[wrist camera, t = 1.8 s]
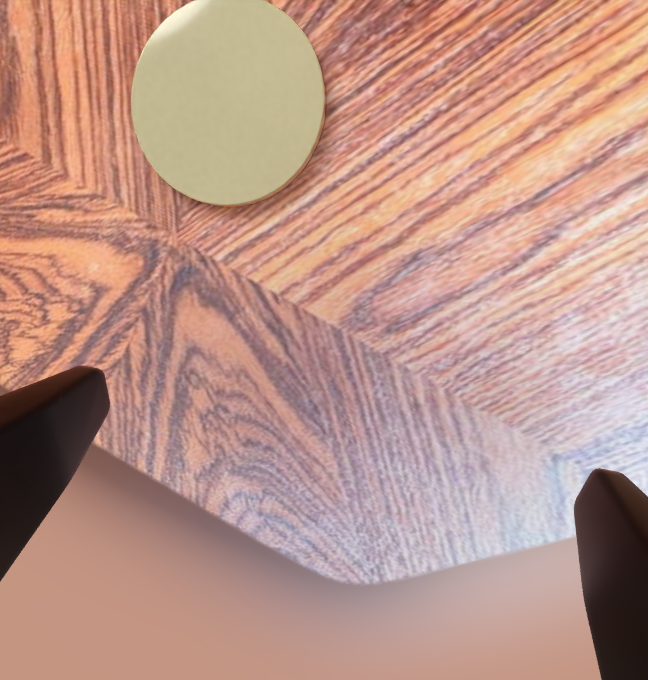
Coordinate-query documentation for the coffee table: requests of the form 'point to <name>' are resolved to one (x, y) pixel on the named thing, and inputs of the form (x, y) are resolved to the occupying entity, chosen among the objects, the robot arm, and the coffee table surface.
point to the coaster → (228, 101)
